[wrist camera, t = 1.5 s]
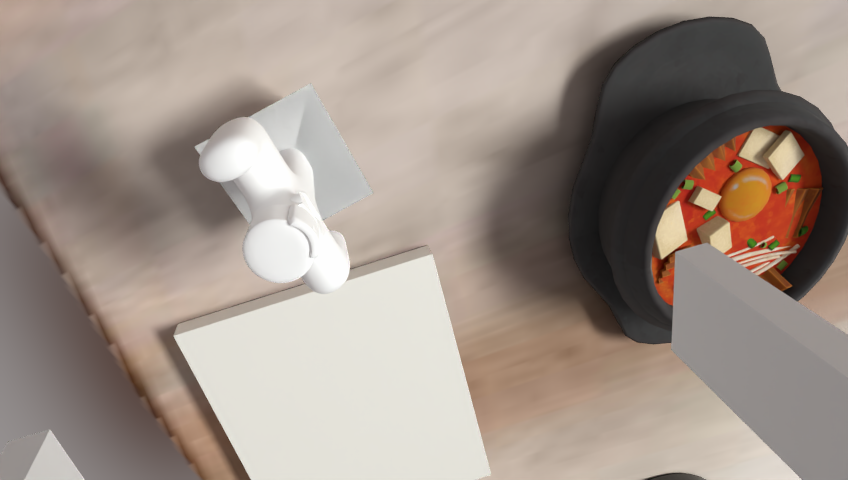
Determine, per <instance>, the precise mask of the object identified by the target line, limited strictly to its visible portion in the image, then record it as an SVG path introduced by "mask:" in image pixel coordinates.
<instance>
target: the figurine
mask: <svg viewBox="0 0 848 480" xmlns="http://www.w3.org/2000/svg"><path fill="white" fill-rule="evenodd" d="M195 149H196V150H197V151H198V153H199V154H200V158H199V167H200V170H201V172H202V174H203V175H204V176H205V177H206V178H208V179H209V180H212V181H215V182H220V184H221V185H222V187H223V188H224V189H225V191H226V192H227V194H228V195H229V196H230V198H231V199H232V201H233V202H234V203H235V205H236V206H237V208H238V209H239V210H240V212H241V213H242V215H243V216H244V217H245V219H246V220H247V222H248V223H249V224H250V226H249V229H248V231H247V233H246V236H245V238H244V241H243V256H244V259H245V262H246V263H247V265H248V267H249V268H250V269H251V270H252V272H254V273H255V274H256V275H257V276H259V277H261V278H262V279H265V280H267V281H270V282H275V283H287V282H291V281H294V280H297V279H298V278H300V277H301V278H302V280H303V281H304V283H305V284H306V285H307V286H308V287H309V288H310V289H311V290H313V291H314V292H316V293H319V294H328V293H331V292H334V291H335V290H337V289H339V288H340V287H341V286H342V285H343V284H344V283H345V281H346V280H347V278H348V275H349V270H350V262H349V256H348V251H347V246H346V241H345V239H344V236H343V235H342V234H341V233H339V232H337V231H333V230H330V231H329V230H328V228H327V227H326V225H325V224H324V222H323V220H325V219H327V218H328V217H330V216H332V215H334V214H336V213H338V212H339V211H341V210H343V209H345V208H347V207H349V206H350V205H352V204H354V203H356V202H358V201H360V200H361V199H363V198H365V197H367V196H369V195H371V194H373V191H372V189H371V188H370V186H369V184H368V182H367V181H366V179H365V177H364V175H363V174H362V172H361V170H360V168H359V167H358V165H357V163H356V161H355V160H354V158H353V156H352V154H351V153H350V151H349V149H348V147H347V146H346V144H345V142H344V140H343V139H342V137H341V135H340V133H339V132H338V130H337V128H336V126H335V125H334V123H333V121H332V119H331V118H330V116H329V114H328V112H327V111H326V109H325V107H324V105H323V104H322V102H321V100H320V98H319V97H318V95H317V93H316V91H315V90H314V88H313V86H312V84H311V83H310V84H308V85H306V86H305V87H303V88H301V89H299V90H297V91H295V92H294V93H292V94H290V95H288V96H286V97H284V98H283V99H281V100H279V101H277V102H275V103H273V104H272V105H270V106H268V107H266V108H264V109H262V110H261V111H259V112H257V113H255V114H253V115H251V116H250V117H240V118H235V119H232V120H230V121H228V122H226V123H225V124H223V125H222V126H221V127H219V128H218V129H217V130H216V131H215V133H214V134H213V135H212V136H211V138H209V139H208V140H206V141H204V142H202V143H200V144H198V145H197V146H195Z"/></svg>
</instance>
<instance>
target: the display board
mask: <svg viewBox="0 0 848 480" xmlns="http://www.w3.org/2000/svg"><path fill="white" fill-rule="evenodd" d="M174 338H175V340H176V342H177V344H178V345H179V347H180V349H181V351H182V353H183V355H184V357H185V358H186V360H187V362H188V364H189V366H190V368H191V369H192V371H193V373H194V375H195V377H196V379H197V381H198V382H199V384H200V386H201V388H202V390H203V392H204V394H205V395H206V397H207V399H208V401H209V403H210V405H211V407H212V408H213V410H214V412H215V414H216V416H217V418H218V420H219V421H220V423H221V425H222V427H223V429H224V431H225V432H226V434H227V436H228V438H229V440H230V442H231V444H232V445H233V447H234V449H235V451H236V453H237V455H238V457H239V458H240V460H241V462H242V464H243V466H244V468H245V470H246V471H247V473H248V475H249V477H250V479H251V480H477V479H480V478H483V477H486V476H489V475H491V472H490V468H489V464H488V460H487V457H486V453H485V449H484V445H483V442H482V438H481V434H480V430H479V427H478V423H477V419H476V415H475V412H474V408H473V404H472V400H471V397H470V393H469V389H468V385H467V382H466V378H465V374H464V370H463V367H462V363H461V359H460V355H459V352H458V348H457V344H456V340H455V337H454V333H453V329H452V325H451V322H450V318H449V314H448V310H447V307H446V303H445V299H444V295H443V292H442V288H441V284H440V280H439V277H438V273H437V269H436V265H435V262H434V258H433V254H432V252H431V250H430V248H429V246H428V245H427V246H424V247H420V248H417V249H414V250H411V251H408V252H405V253H401V254H398V255H395V256H392V257H389V258H386V259H382V260H379V261H376V262H373V263H370V264H367V265H363V266H360V267H357V268H354V269H351V270H349V275H348V278H347V280H346V281H345V283H344V284H343V285H342V286H341V287H340V288H339V289H337V290H335V291H334V292H331V293H328V294H319V293H316V292H314V291H313V290H311V289H310V288H309V287H308V286H307V285H306V284H303V285H300V286H297V287H294V288H290V289H287V290H284V291H281V292H278V293H275V294H271V295H268V296H265V297H262V298H259V299H256V300H252V301H249V302H246V303H243V304H240V305H237V306H233V307H230V308H227V309H224V310H221V311H218V312H214V313H211V314H208V315H205V316H202V317H199V318H195V319H192V320H189V321H186V322H183V323H180V324H178V325H177V328H176V330H175V333H174Z"/></svg>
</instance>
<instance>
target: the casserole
mask: <svg viewBox="0 0 848 480" xmlns="http://www.w3.org/2000/svg"><path fill="white" fill-rule="evenodd" d="M568 222H569V240H570V244H571V248H572V252H573V256H574V260H575V262H576V264H577V266H578V268H579V269H580V271H581V273H582V275H583V277H584V278H585V279H586V281H587V282H588V283H589V284H590V285H591V286H592V287H593V288H594V290H595V291H596V292H597V293H598V294H599V295H600V296H601V297H602V298H603V299H604V301H605V302H606V303H607V304H608V305H609V307H610V308H611V310H612V312H613V314H614V316H615V318H616V320H617V321H618V323H619V325H620V327H621V329H622V331H623V332H624V334H625V335H626V336H627V337H629V338H631V339H632V340H634V341H636V342H639V343H647V344H662V343H672V320H673V296H674V271H675V252H676V251H679V250H683V249H686V248H690V247H693V246H697V245H700V244H704V243H708V244H710V245H711V246H713V247H715V248H716V249H718V250H719V251H721V252H722V253H724V254H725V255H727V256H728V257H730V258H731V259H733V260H734V261H736V262H737V263H739V264H741V265H742V266H744V267H745V268H747V269H748V270H750V271H751V272H753V273H754V274H756V275H757V276H759V277H760V278H762V279H763V280H765V281H766V282H768V283H770V284H771V285H773V286H774V287H776V288H777V289H779V290H780V291H782V292H783V293H785V294H786V295H788V296H789V297H791V298H792V299H794V300H795V301H799V300H800V299H801V298H802V297H804V296H805V295H806V294H807V293H808V292H809V291H810V290H811V289H812V288H813V286H814V285H815V284H816V283H817V282H818V281H819V280H820V279H821V278H822V276H823V275H824V274H825V272H826V271H827V270H828V268H829V267H830V266H831V264H832V263H833V262H834V260H835V258H836V256H837V255H838V253H839V251H840V249H841V247H842V246H843V244H844V242H845V240H846V237H847V235H848V146H847V144H846V143H845V141H844V140H843V139H842V138H841V137H840V136H839V135H838V133H837V132H836V131H835V130H834V128H833V126H832V124H831V122H830V121H829V120H828V119H827V118H826V117H825V115H824V114H823V113H822V112H821V111H820V110H819V108H817V107H816V106H814V105H813V104H811V103H809V102H808V101H806V100H805V99H803V98H802V97H800V96H796V95H793V94H790V93H786V92H783V91H781V89H780V88H779V86H778V84H777V81H776V77H775V73H774V69H773V65H772V61H771V57H770V53H769V50H768V47H767V44H766V41H765V38H764V37H763V36H762V35H761V34H760V33H759V32H758V31H757V30H756V28H755V27H754V26H753V25H752V24H749V23H746V22H743V21H740V20H738V19H735V18H725V17H704V18H698V19H692V20H687V21H682V22H680V23H677V24H675V25H672V26H670V27H667V28H665V29H662V30H660V31H657V32H655V33H654V34H652V35H651V36H649V37H647V38H646V39H644V40H643V41H641V42H639V43H638V44H636V45H635V46H633V47H632V48H631V49H630V50H629V51H628V52H627V53H626V54H625V55H623V56H622V57H621V58H620V59H619V60H618V61H617V62H616V63H615V64H614V66H613V67H612V69H611V71H610V72H609V74H608V76H607V77H606V79H605V81H604V82H603V84H602V87H601V92H600V96H599V101H598V105H597V110H596V115H595V121H594V126H593V132H592V138H591V141H590V144H589V146H588V149H587V152H586V154H585V157H584V160H583V162H582V165H581V168H580V170H579V173H578V176H577V179H576V181H575V184H574V187H573V189H572V195H571V201H570V207H569V213H568Z"/></svg>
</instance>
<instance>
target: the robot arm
mask: <svg viewBox="0 0 848 480" xmlns="http://www.w3.org/2000/svg"><path fill="white" fill-rule="evenodd" d="M671 350H672V351H673V352H674V353H675V354H676V355H677V356H678V357H679V358H680V359H681V360H682V361H683V362H684V363H685V364H686V365H687V366H688V367H689V368H690V369H691V370H692V371H693V372H694V373H695V374H696V375H697V376H698V377H699V378H700V379H701V380H702V381H703V382H704V383H705V384H706V385H707V386H708V387H709V388H710V389H711V390H712V391H713V392H714V393H715V394H716V395H717V396H718V397H719V398H720V399H721V400H722V401H723V402H724V403H725V404H726V405H727V406H728V407H729V408H730V409H731V410H732V411H733V412H734V413H735V414H736V415H737V416H738V417H739V418H740V419H741V420H742V421H743V422H744V423H745V424H746V425H748V426H749V427H750V428H751V429H752V430H753V431H754V432H755V433H756V434H757V435H758V436H759V437H760V438H761V439H762V440H763V441H764V442H765V443H766V444H767V445H768V446H769V447H770V448H771V449H772V450H773V451H774V452H775V453H776V454H777V455H778V456H779V457H780V458H781V459H782V460H783V461H784V462H785V463H786V464H787V465H788V466H789V467H790V468H791V469H792V470H793V471H794V472H795V473H796V474H797V475H798V476H799V477H800V478H801V479H802V480H848V335H847V334H846V333H844V332H843V331H841V330H840V329H838V328H837V327H835V326H834V325H832V324H831V323H829V322H828V321H826V320H825V319H823V318H821V317H820V316H818V315H817V314H815V313H814V312H812V311H811V310H809V309H808V308H806V307H805V306H803V305H802V304H800V303H799V302H797V301H795V300H794V299H792V298H791V297H789V296H788V295H786V294H785V293H783V292H782V291H780V290H779V289H777V288H776V287H774V286H773V285H771V284H770V283H768V282H766V281H765V280H763V279H762V278H760V277H759V276H757V275H756V274H754V273H753V272H751V271H750V270H748V269H747V268H745V267H744V266H742V265H741V264H739V263H737V262H736V261H734V260H733V259H731V258H730V257H728V256H727V255H725V254H724V253H722V252H721V251H719V250H718V249H716V248H715V247H713V246H711V245H710V244H708V243H704V244H700V245H697V246H693V247H690V248H686V249H683V250H679V251H676V252H675V271H674V296H673V320H672V345H671ZM0 480H84V478H83V477H82V475H81V474H80V472H79V471H78V469H77V468H76V466H75V465H74V464H73V462H72V461H71V459H70V458H69V456H68V455H67V453H66V452H65V451H64V449H63V448H62V446H61V445H60V443H59V442H58V440H57V439H56V438H55V436H54V435H53V433H52V432H51V430H46V431H43V432H39V433H36V434H32V435H29V436H25V437H22V438H18V439H15V440H11V441H8V442H7V444H6V446H5V447H4V449H3V451H2V453H1V454H0ZM650 480H706V479H704V478H702V477H699V476H695V475H691V474H670V475H665V476H660V477H657V478H653V479H650Z"/></svg>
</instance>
